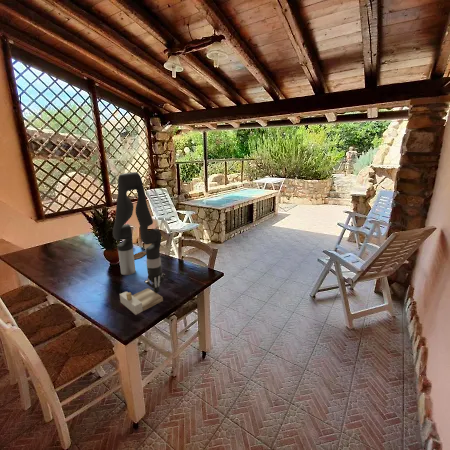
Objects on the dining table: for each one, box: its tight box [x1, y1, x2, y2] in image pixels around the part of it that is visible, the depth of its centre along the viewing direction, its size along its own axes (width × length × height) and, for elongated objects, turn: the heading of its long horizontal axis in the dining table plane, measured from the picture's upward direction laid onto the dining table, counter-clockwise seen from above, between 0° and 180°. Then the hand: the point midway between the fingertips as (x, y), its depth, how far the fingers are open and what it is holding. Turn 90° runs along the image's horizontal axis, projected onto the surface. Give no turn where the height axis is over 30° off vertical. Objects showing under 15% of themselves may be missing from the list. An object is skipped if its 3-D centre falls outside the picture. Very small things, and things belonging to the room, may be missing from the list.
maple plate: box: [131, 287, 164, 312], centre depth 137 cm, size 14×12×3 cm
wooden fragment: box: [119, 251, 146, 265], centre depth 193 cm, size 26×11×1 cm, turn 140°
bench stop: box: [119, 291, 144, 316], centre depth 131 cm, size 16×4×8 cm, turn 48°
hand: (156, 292), depth 143 cm, fingers closed
